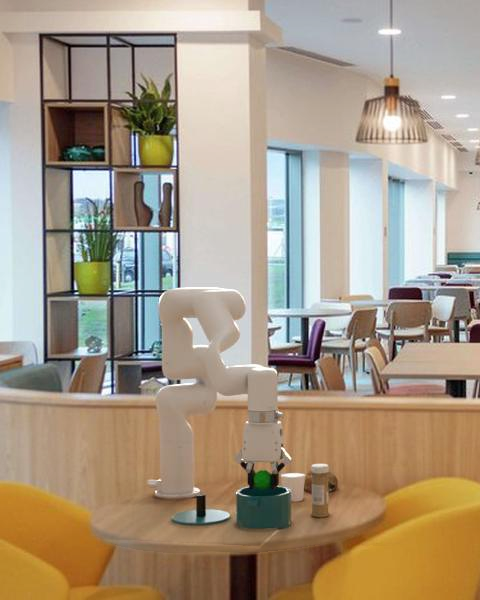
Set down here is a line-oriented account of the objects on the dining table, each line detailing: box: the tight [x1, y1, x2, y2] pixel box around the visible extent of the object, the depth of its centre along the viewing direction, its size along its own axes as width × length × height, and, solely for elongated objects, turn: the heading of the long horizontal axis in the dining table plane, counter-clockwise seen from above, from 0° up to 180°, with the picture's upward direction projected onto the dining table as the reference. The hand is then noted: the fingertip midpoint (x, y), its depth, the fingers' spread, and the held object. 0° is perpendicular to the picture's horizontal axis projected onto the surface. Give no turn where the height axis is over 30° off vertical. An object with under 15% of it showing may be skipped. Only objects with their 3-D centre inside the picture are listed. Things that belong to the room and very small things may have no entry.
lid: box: [171, 493, 231, 526], centre depth 274 cm, size 15×15×7 cm
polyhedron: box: [253, 469, 272, 490], centre depth 270 cm, size 5×5×5 cm
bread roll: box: [304, 469, 339, 493], centre depth 311 cm, size 10×10×8 cm
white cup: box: [280, 472, 306, 503], centre depth 298 cm, size 7×7×7 cm
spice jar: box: [310, 463, 330, 518], centre depth 279 cm, size 5×5×14 cm
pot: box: [235, 485, 292, 530], centre depth 270 cm, size 14×19×8 cm
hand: (263, 487), depth 270 cm, fingers closed on polyhedron, 5 cm apart
